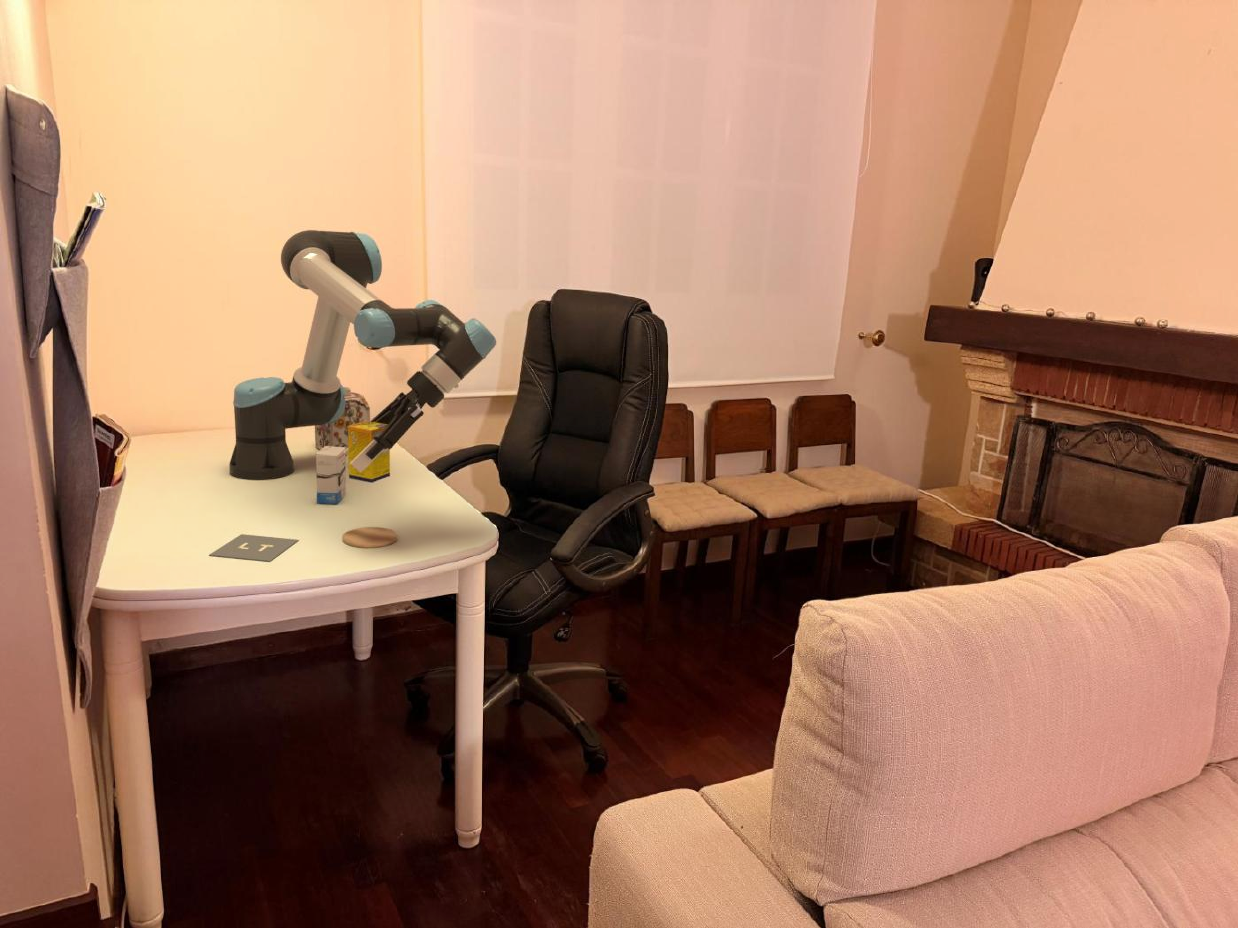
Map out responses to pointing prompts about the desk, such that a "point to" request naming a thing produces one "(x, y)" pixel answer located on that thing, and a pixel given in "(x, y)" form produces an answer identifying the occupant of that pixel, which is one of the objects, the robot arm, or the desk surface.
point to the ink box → (330, 475)
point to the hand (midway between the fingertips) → (352, 462)
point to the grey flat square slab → (254, 548)
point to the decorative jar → (343, 422)
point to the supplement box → (358, 441)
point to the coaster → (370, 537)
